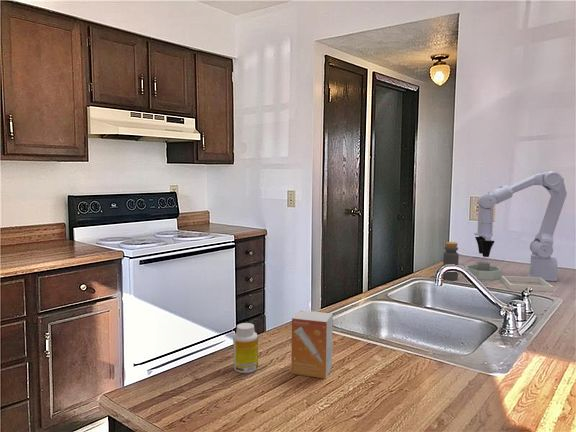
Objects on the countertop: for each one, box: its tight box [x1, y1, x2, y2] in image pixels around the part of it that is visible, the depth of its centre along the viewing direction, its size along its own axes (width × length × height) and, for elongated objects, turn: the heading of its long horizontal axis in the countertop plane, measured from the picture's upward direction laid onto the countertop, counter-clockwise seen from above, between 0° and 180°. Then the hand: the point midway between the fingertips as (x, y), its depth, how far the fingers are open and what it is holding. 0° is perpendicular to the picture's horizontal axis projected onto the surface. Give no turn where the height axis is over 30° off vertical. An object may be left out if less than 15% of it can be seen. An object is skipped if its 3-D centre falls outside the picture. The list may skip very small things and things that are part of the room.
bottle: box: [442, 241, 459, 282], centre depth 190 cm, size 6×6×15 cm
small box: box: [290, 309, 334, 380], centre depth 105 cm, size 8×6×13 cm
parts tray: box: [500, 275, 554, 293], centre depth 180 cm, size 15×15×2 cm
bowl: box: [464, 263, 502, 281], centre depth 196 cm, size 13×13×4 cm
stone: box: [475, 260, 491, 271], centre depth 196 cm, size 4×4×5 cm
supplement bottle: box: [232, 322, 259, 374], centre depth 106 cm, size 6×6×10 cm
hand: (483, 255), depth 195 cm, fingers open, 7 cm apart
